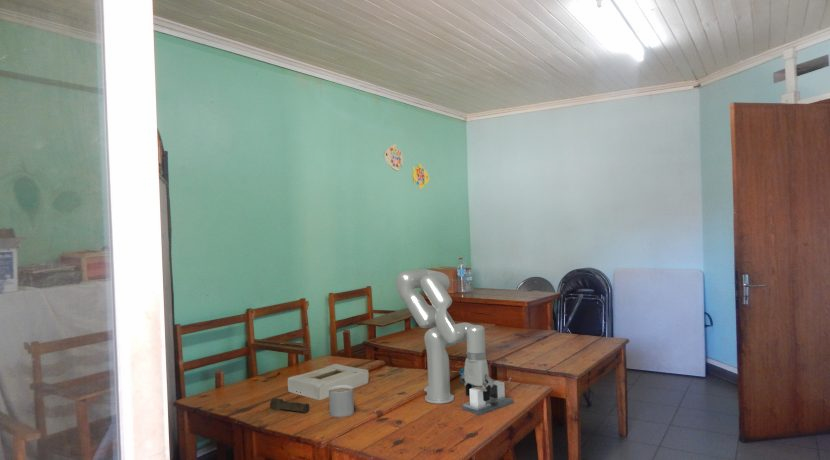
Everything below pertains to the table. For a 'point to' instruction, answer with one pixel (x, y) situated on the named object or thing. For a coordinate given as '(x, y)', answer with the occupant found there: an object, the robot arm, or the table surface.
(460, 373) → the gear
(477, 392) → the block
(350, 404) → the coffee mug
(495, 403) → the rail
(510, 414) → the table surface
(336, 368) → the box
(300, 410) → the hand tool
